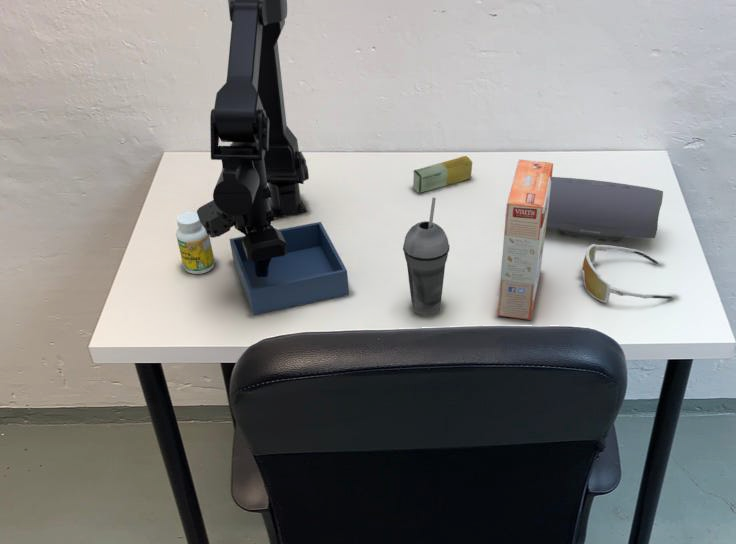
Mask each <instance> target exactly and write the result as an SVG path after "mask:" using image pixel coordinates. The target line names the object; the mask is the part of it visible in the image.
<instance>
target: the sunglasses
mask: <svg viewBox="0 0 736 544" xmlns="http://www.w3.org/2000/svg"><path fill="white" fill-rule="evenodd" d="M610 250H616V251H620V252H625V253H629V254H630V253H631V254H636V255H637V256H640V257H643V258H645V259H646V260H648V261H650V262H652V263H653V264H654V265H656V266H658V265H661V262H660V261H658V260H656V259H655V258H653V256H651V255H649V254H648V253H645V252H643V251H641V250H638V249H636V248H628V247H624V246H615V245H607V244H595V243H592V244H591V245H589V246H588V247H587V248H586V251H585V255H584V258H583V263H582V270H581V279H583V284H584V288H585V290H586V291H587V293H588V294H589V295H590V296H591V297H592V298H594V299H595V300H597V301H599V302H602V303H609V299H610V296H611V294H614V295H617V296H619V297H622V296H623V297H635V298H642V299H659V300H660V299H662V300H672V299H674V298H675V295H669V294H656V293H651V294H647V293H646V294H643V293H636V292H632V291H627V290H624V289H621V288H617V287H614V286H612V285H611V284H610V283H609V282H608V281H607V280H605V279H604V278H603V277H602V276H601V274H600V273H599V272H598V270H597V269H596V268H595V267H594V263H595V261H596V252H597V251H602V252H606V251H610Z"/></svg>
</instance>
